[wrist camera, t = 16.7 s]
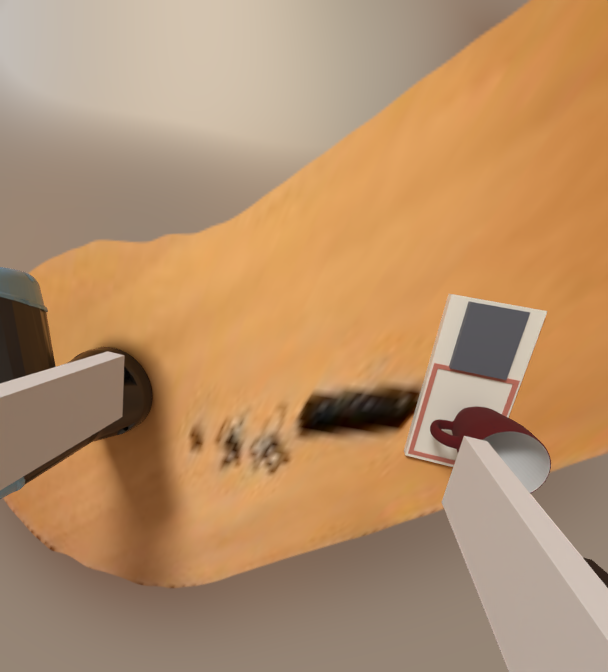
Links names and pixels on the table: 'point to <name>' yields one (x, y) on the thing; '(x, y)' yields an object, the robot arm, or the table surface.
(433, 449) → the board
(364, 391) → the table surface
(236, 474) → the table surface
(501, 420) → the mug
